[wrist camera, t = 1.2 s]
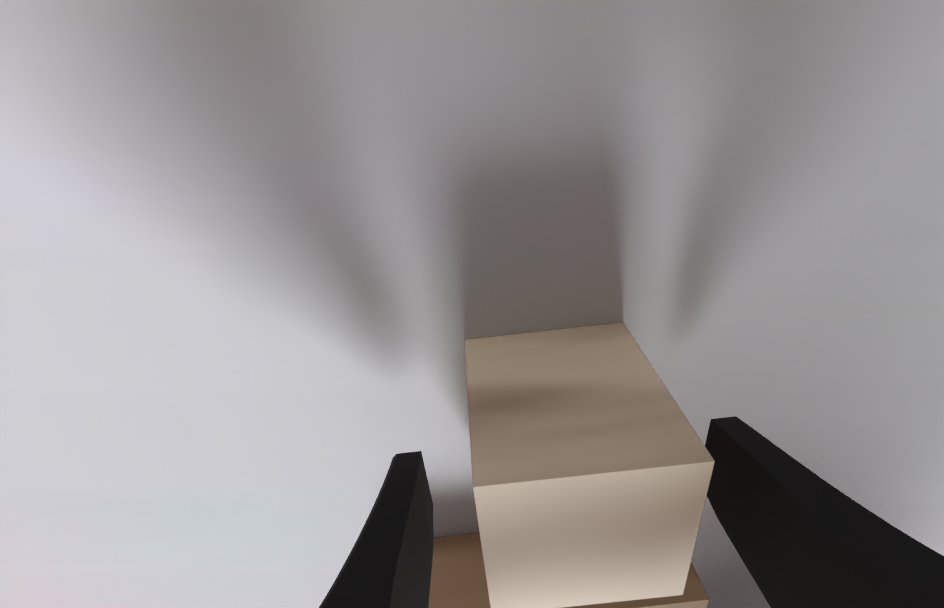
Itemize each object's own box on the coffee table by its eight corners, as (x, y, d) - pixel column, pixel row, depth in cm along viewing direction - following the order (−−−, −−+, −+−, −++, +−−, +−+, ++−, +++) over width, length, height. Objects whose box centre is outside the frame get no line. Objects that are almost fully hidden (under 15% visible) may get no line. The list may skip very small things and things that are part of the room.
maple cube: (613, 436, 15) (682, 594, 10) (478, 450, 15) (492, 615, 10) (622, 321, 13) (714, 461, 8) (464, 338, 13) (473, 487, 8)
